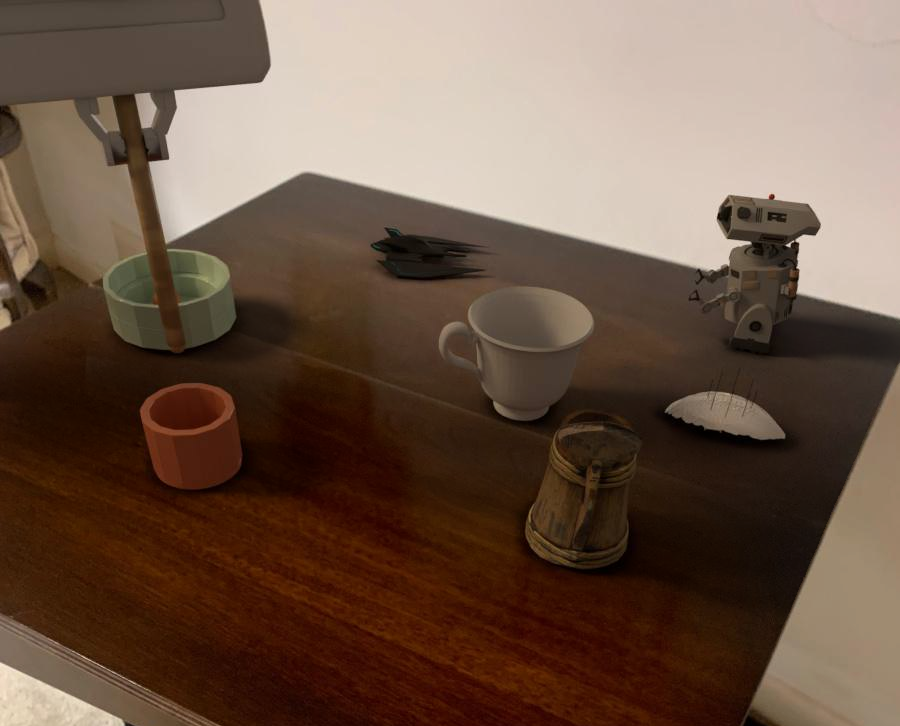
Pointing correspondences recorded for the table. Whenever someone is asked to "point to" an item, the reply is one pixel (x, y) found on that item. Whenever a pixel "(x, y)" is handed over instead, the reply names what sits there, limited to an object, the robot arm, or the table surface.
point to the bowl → (200, 308)
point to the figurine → (759, 265)
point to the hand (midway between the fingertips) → (136, 160)
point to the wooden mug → (585, 492)
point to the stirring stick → (150, 219)
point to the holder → (192, 435)
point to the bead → (157, 301)
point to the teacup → (522, 347)
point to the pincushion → (726, 414)
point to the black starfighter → (418, 255)
